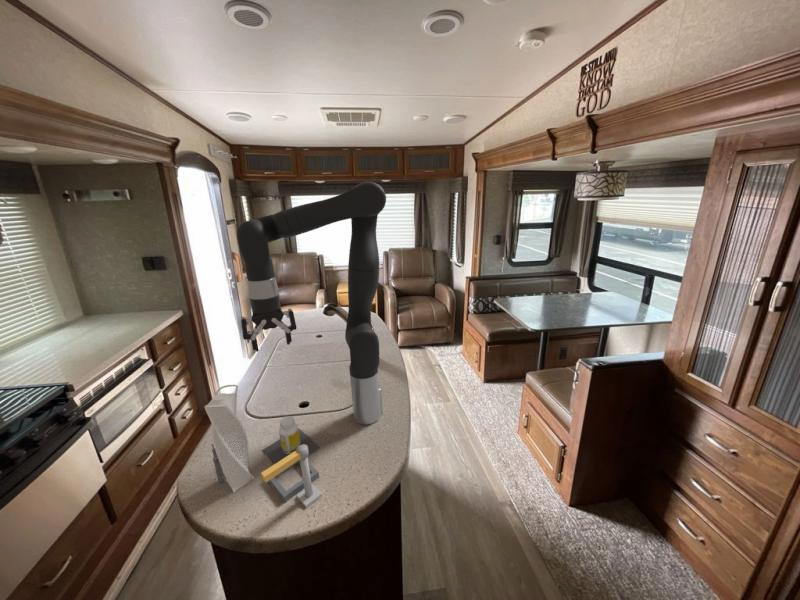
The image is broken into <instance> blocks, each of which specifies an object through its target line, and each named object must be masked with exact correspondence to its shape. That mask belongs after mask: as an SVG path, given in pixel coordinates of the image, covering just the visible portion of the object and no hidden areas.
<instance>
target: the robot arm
mask: <svg viewBox="0 0 800 600" xmlns="http://www.w3.org/2000/svg"><path fill="white" fill-rule="evenodd" d="M386 195H387V194H386V193H385V190H384V188H383V187H382V186H381V185H380V184H378V183H376V182H374V181H368V180H367V181H363V182H359V183H358V184H356V185H355V186H354V187H353V188H351V189H350V190H347V191H345V192H343V193H342V194H338V195H336V196H332V197H330V198H326V199H322V200H316V201H313V202H309V203H305V204H300V205H297V206H294V207H289V208H286V209H283V210H280V211H278V212H276V213H274V214H269V215H266V216H261V217H258V218H257V217H256V218H253V219H249V220H247V221H243V222H242V223H240V224H239V226H238V228H237V230H236V237H237V239H236V240H237V244H238V247H239V251H240V254H241V256H242V259H243V261H244V268H245V274H246V280H247V291H248V297H249V301H250V307H251V314H252V315H251V316H250V317H249V316H248V317H246V316H241V318H240V323H241V330H242V332H241V333H242V339H243V340H244V341H245V340H246V341H247V340H250V342H251V346H252V350H253V351H256V353H257V352H259V345H258V340H257V339H258V338H257V337H258V335H259V334H260V333H261V331H263V330H264V331H266V330H270V329H277V327H278V328H280V329H281V330H282V331H284V335H285V340H286V341H285V342H286V344H287V345H289V346H290V345H291V343H292V341H293V339H292V332H293V331H296V330H297V323H296V318H295V314H294V311H293V309H292V308H288V309H287V310H284V311H283V310H282V307H281V301H280V293H279V291H280V290H279V287H278V282H277V280H276V274H275V273H276V272H275V268H274V262H273V260H272V258H271V256H270V250H269V243H272V242H275V241H278V240H281V239H283V238H284V239H287V238H292V237H295V236H298V235H302V234H304V233H305V234H307V233H308V232H312V231H314V230H317V229H319V228H322V227H325V226H328V225H331V224H335V223H338V222H341V221H344V220H345V221H346V220H349V219H350V220H351V235H350V237H351V238H350V243H349V244H350V245H349V251H348V252H349V253H348V254H349V255H348V264H347V265H348V266H347V267H348V268H347V288H348V289H347V297H348V298H347V299H348V310H347V319H346V327H345V333H344V338H345V341H346V344H347V346H348V348H349V355H350V358H349V360H350V364H349V366H348V367H349V368H348V369H349V378H350V390H351V400H352V401H351V402H352V415H353V419H354V421H355V422H356V423H358V424H359V425H364V426H365V425H371V424H375V423H376V422H377V421H378V420H379V419H380V418H381V415H382V414H383V412H384V411H383V395H382V392H383V391H382V389H381V387H380V380H379V378H380V377H379V366H380V341H379V336H378V335H377V333H376V331H374V329H373V327H372V312H371V311H372V305H373V302H374V299H375V296H376V293H377V290H378V288H379V280H380V255H379V247H378V241H377V223H378V218H379V214H380V213H381V212H382V211H383V209H385V207H386V202H387V196H386ZM284 316H285V317H286V318H288V319H289V323H290V325H289V326H288V325H287V324H285V322H284V321H282V320H283V318H284ZM251 322H252V323H254V325H255V326H254V327H253V329H252V331H251V333H249V332H248V327H247V326H250V323H251Z"/></svg>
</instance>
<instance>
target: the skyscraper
mask: <svg viewBox="0 0 800 600" xmlns="http://www.w3.org/2000/svg"><path fill="white" fill-rule="evenodd" d="M230 387H235V390H234V392H231V393H225V392H224V393H219V392H220V391H221V390H222V389H224V388H230ZM238 390H239V385H238V384H227V385H223V386H220V387H219V388H218V389H217V390H216V392H215V394H214V397H213V398H212V399H211V400H210V401H209V403H207V404H206V405H205V406H204V409H205V411H206V412H205V413H206V414H207V416H208V418H209V420H210V423H211V426H212V427H211V428H212V438H213V442H212V443H211V447H212V449H211V451H212V455H213V457H212V461H213V463H214V464H213V465H214V470H215V475H216V478H217V481H216V482H217V484H218V485H219V487H220V489H221V490H222V491H223V492H224V494H225V495H226V497H227V498H228V497H230V496H231V495H233V494H235V493H236V492H238V491H239V490H241V489H242V488H244V487H246V486H247V485H248V484H250V483H251V482H252V481H255V477H254V476H253V474H252V473H251V472H250V470H249V467H248V464H249V440H248V436H247V432H246V429H245V428H244V425H243V423H242V422H241V421H240V419H239V417H238V414H237V402H238V401H237V400H238Z"/></svg>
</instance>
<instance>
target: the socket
mask: <svg viewBox="0 0 800 600" xmlns="http://www.w3.org/2000/svg"><path fill="white" fill-rule="evenodd" d="M308 457H309V456H308ZM308 457H307V458H306V459H303V460H299V461H297V462H296V463H294V464H293V465H291V466H290V467H288V468H287V469H286V470H284V471H283V472H281V473H280V474H278V475H277V476H275V477H274V478H272V479H271V480H269V481H268V482H267V483H269V484H270V486H271V487H272V488H273V489H274V491H275V492H276V493H277V495H278V496H279V497H280V498H281V500H282V501H283V502H284V503H287V502H289V500H291V499H292V498H294V497H295V496H296V498H297V500H298V501H300V503H301V504H302V505H303V506H304V507H305V509H307V508H309V507H310V506H311V505H313V504H314V503H315V502H316V501H318V500H319V499H320V498H321V497H323V493H322V492H321V491H320V490H319V489H318V488H317V487H316V485H314V484H313V483H314V482H315V481H316V480H317V479H319V478H320V473H319V471H318V470H317V469H316V468H315V467H314V466H313V465H312V464H311V463H310V462H309V458H308ZM297 464H298V465H300V469H301V470H300V471H301V476H302V479H301V480H299V481H298V482H296V483H295V484H293V486H291V487H289V488H288V489H287V490H286V489H285V487H284V486H283V485H282V484H281V483H280V482H279V481H278V480H277V478H278V477H280V476H281V475H283V474H284V473H285V472H287V471H288V470H290V469H291V468H293V467H294V466H296V465H297Z"/></svg>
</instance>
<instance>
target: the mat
mask: <svg viewBox="0 0 800 600" xmlns="http://www.w3.org/2000/svg"><path fill="white" fill-rule="evenodd" d="M298 429H299V435H300V442H301V445H303V444H305V445H307V446H308V452H309V455H311V454H312V453H314V452H316V451H317V450H319V449H320V448H321V447H320V445H319V444H318V443H316V442H315V441H314V440H313V439H312V438H311V437H309V436H308V434H306V433H305V432H304V431H303V430H302V429H300V428H299V427H298ZM262 452H263V453H264V454H265V455H266V456H267V457H268V458H269V460H270V461H271V462H272V464H273V465H274V464H276V463H277V462H279V461H280V460H282V459H284V458H285V457H287V456H288V455H290V454H285V453H284V452H283V451H282V447H281V441H280V439H278V440H276V441H275V442H273V443H271V444H269V445H268V446H266V447H264V448H262ZM309 455H308V456H309Z"/></svg>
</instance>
